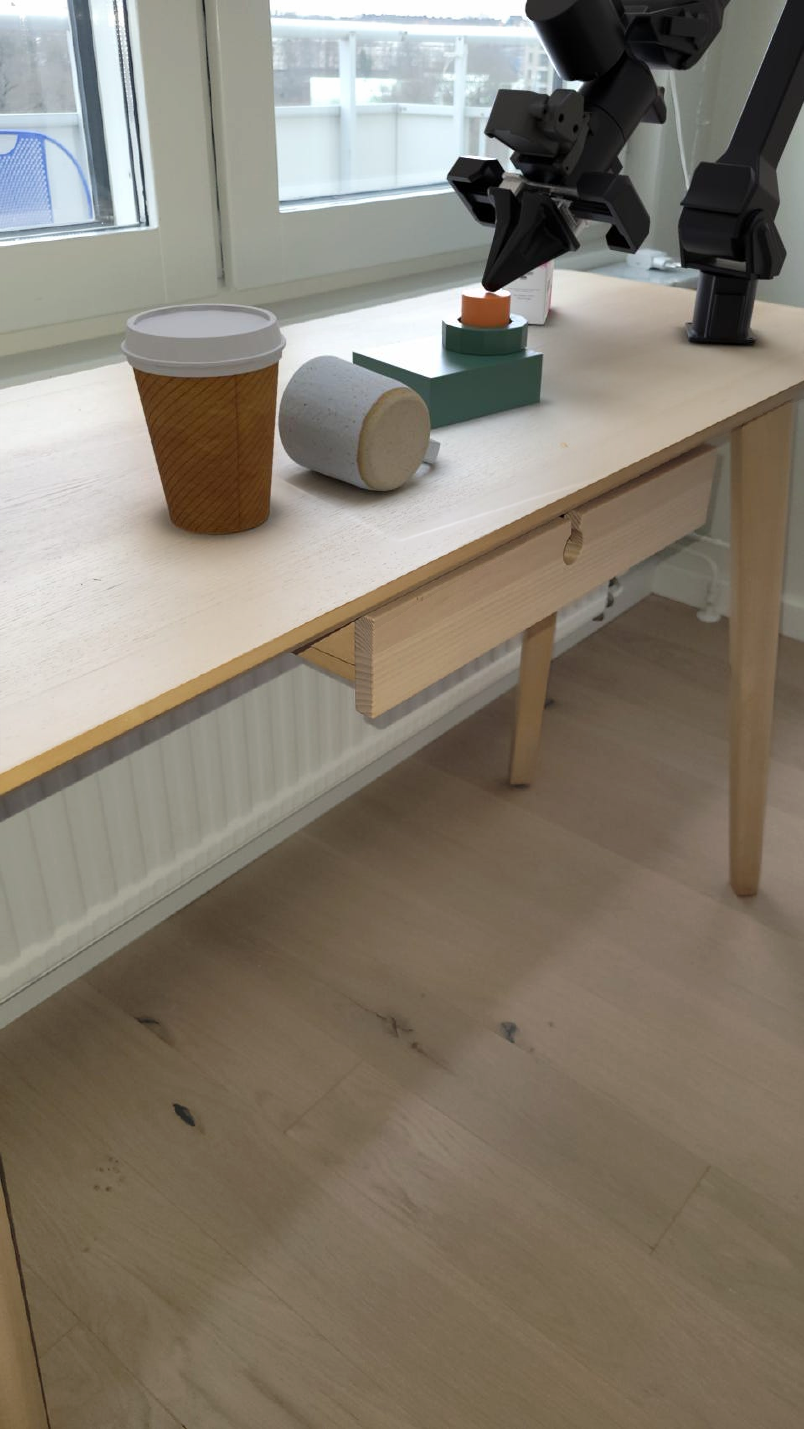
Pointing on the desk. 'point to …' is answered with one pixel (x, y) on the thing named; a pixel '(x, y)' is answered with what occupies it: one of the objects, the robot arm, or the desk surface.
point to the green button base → (463, 369)
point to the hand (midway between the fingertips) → (486, 288)
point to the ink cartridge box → (532, 294)
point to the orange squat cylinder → (485, 308)
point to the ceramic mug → (355, 424)
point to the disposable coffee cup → (209, 408)
